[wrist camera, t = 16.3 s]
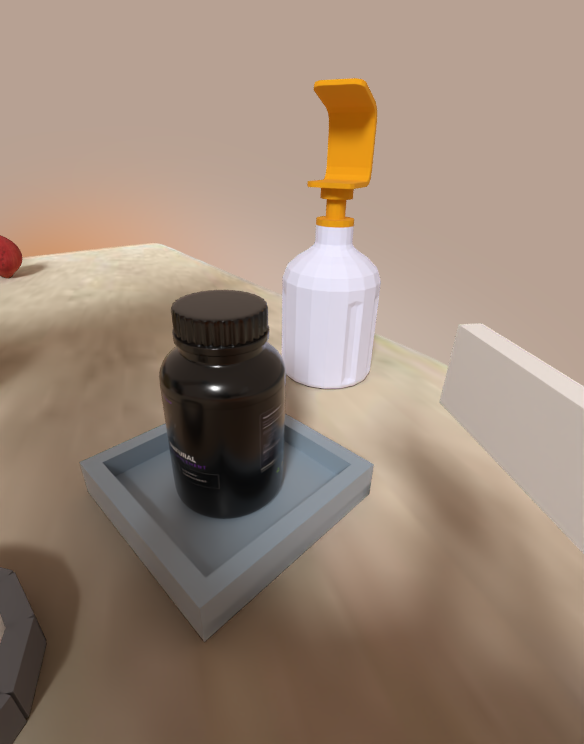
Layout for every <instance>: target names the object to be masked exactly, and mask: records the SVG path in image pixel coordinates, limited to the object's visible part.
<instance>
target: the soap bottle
mask: <svg viewBox="0 0 584 744" xmlns="http://www.w3.org/2000/svg"><path fill="white" fill-rule="evenodd" d="M314 91H315V93H316V94H317V95H318V97H319V98H320V100H321V101H322V102H323V104H324V105H325V107H326V108H327V111H328V115H329V137H328V156H327V169H326V175H325V178H324V179H323V180H317V181H308V187H320V188H321V198H322V199H327V205H326V216H321V217H317V218H316V219H317V220H316V241H315V243H314V245H313V246H311V247H310V248H309V249H308V250H306V251H304V252H302V253H300V254H298V255H297V256H296V257H295V258H294V259H293V260H292V261H290V262H289V263H288V265H287V267H286V270H285V273H284V275H283V293H282V359H283V361H284V364H285V369H286V375H287V376H289V377H290V378H291V379H293V380H294V381H296V382H298V383H301V384H304V385H306V386H311V387H317V388H323V389H331V388H344V387H348V386H353V385H355V384H357V383H359V382H361V381H363V380H364V379H365V377H366V376H367V374H368V373H369V371H370V364H371V356H372V348H373V340H374V332H375V323H376V316H377V308H378V300H379V292H380V284H381V281H380V277H379V273H378V270H377V267H376V266H375V265H374V264H373V263H372V262H371V260H370V259H369V258H368V257H366V256H365V255H364V254H362V253H360V252H359V251H358V250H357V249H356V248H355V247H354V246H353V243H352V240H353V228H354V219H353V218H350V217H345V210H346V200H350V199H353V190H354V189H356V188H362V187H367V186H368V184H369V182H370V179H371V173H372V164H373V154H374V144H375V134H376V124H377V106H376V102H375V100H374V98H373V95H372V93H371V91H370V89H369V87H368V85H367V83H366V82H365V81H364V80H362V79H355V78H354V79H336V80H319V81H317V82H315V84H314Z"/></svg>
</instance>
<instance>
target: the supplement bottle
mask: <svg viewBox="0 0 584 744" xmlns="http://www.w3.org/2000/svg"><path fill="white" fill-rule="evenodd" d="M171 313H172V322H173V341H174V343H175V345H176V347H174V348H173V349H172V350H171V351H170V352H169V353H168V354H167V356H166V357H165V359H164V360H163V363H162V365H161V368H160V372H159V379H160V388H161V395H162V402H163V409H164V415H165V422H166V429H167V436H168V443H169V449H170V456H171V463H172V470H173V476H174V481H175V487H176V491H177V493H178V495H179V497H180V499H181V500H182V502H183V503H184V504H185V505H186V506H187V507H188V508H190V509H191V510H193V511H194V512H196V513H198V514H200V515H203V516H206V517H210V518H216V519H233V518H239V517H243V516H247V515H249V514H252V513H254V512H256V511H258V510H260V509H261V508H263V507H264V506H266V505H267V504H268V503H269V502H270V501H271V500H272V499H273V498H274V497H275V495H276V494H277V492H278V490H279V488H280V486H281V483H282V478H283V462H284V425H285V389H286V369H285V364H284V361H283V359H282V357H281V355H280V354H279V352H278V351H277V350H276V349H275V348H274V347H273V346H272V345H270V344H269V343H268V342H267V341H268V339H269V326H268V307H267V302H265V301H264V299H262V298H261V297H259V296H256V295H255V294H251V293H248V292H242V291H234V290H213V291H202V292H197V293H192V294H189V295H185V296H184V297H181V298H179V299H178V300H176V301H175V302H174V303H173V305H172V307H171Z"/></svg>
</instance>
